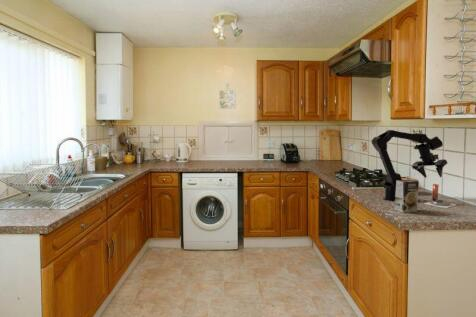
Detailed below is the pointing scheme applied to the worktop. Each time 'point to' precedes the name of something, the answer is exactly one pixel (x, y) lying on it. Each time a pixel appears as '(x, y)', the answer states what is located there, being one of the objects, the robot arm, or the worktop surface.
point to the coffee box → (406, 195)
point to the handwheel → (435, 197)
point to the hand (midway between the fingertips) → (433, 177)
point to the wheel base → (440, 205)
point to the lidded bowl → (409, 178)
